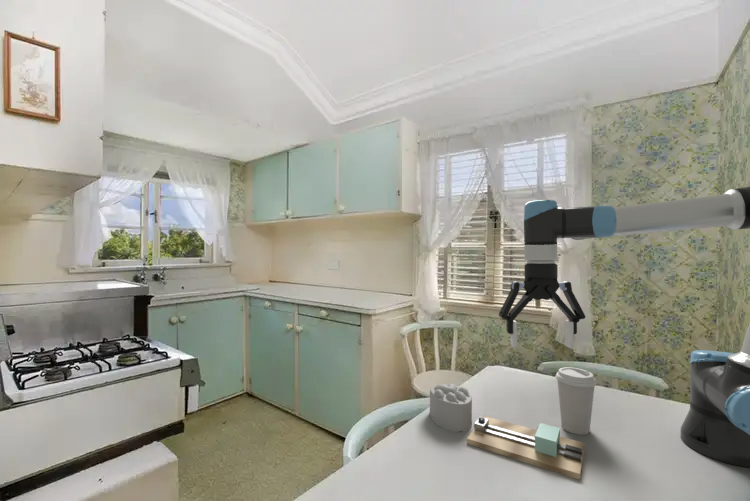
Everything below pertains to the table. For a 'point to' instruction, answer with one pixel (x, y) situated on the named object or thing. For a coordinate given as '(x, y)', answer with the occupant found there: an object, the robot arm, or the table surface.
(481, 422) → the slide rail
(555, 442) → the mint sliding carriage
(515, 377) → the table surface
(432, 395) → the lumpy-topped squat cylinder
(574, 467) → the board
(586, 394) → the coffee cup
